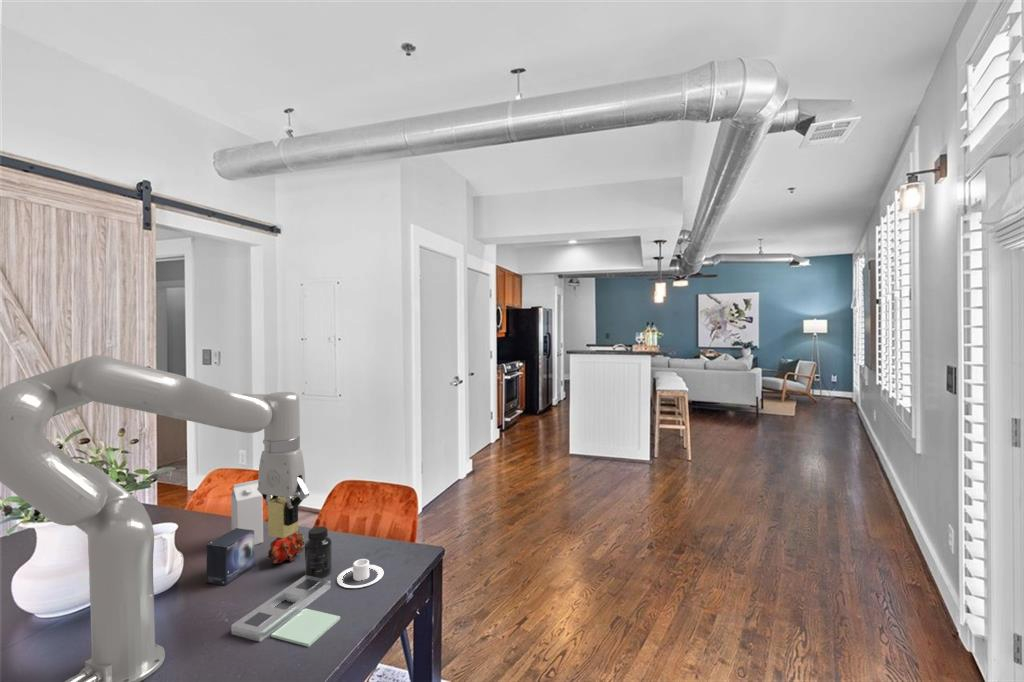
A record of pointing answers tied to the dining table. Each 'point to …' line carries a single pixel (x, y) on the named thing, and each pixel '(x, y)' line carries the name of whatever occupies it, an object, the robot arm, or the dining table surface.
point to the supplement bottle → (318, 553)
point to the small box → (230, 556)
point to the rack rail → (272, 618)
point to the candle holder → (360, 573)
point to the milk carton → (247, 509)
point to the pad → (306, 627)
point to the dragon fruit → (286, 547)
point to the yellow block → (279, 518)
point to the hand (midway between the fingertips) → (283, 521)
